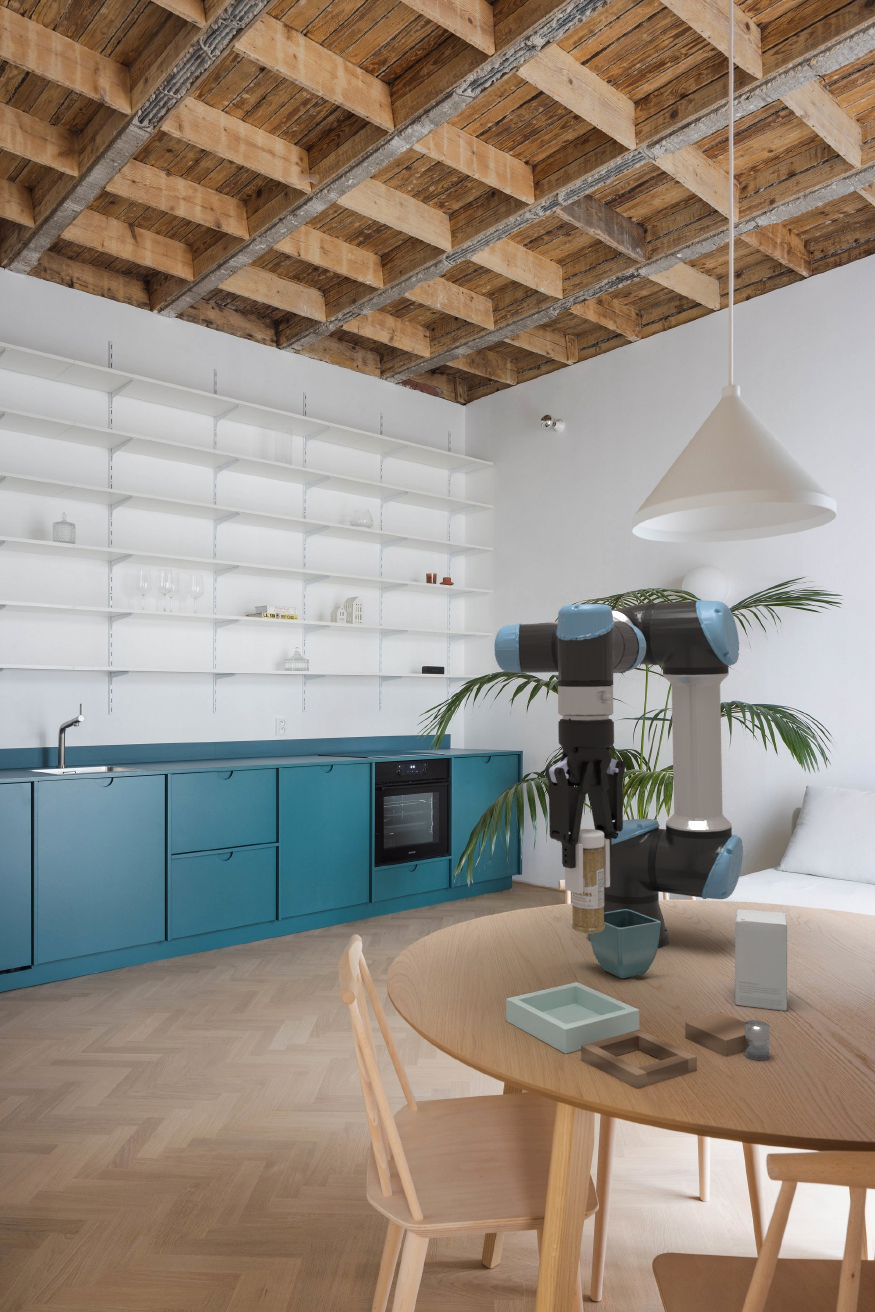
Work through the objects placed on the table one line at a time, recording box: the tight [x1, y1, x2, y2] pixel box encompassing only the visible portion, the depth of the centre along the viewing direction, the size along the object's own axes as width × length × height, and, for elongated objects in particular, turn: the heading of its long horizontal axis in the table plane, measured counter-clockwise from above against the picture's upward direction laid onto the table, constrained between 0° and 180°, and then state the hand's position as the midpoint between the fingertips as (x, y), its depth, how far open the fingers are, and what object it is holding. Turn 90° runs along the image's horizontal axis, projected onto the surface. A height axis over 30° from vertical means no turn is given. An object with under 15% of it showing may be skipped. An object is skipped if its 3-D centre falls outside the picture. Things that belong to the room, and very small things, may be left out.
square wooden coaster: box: [684, 1011, 746, 1058], centre depth 121 cm, size 7×7×2 cm
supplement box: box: [734, 909, 788, 1012], centre depth 136 cm, size 7×7×13 cm
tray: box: [505, 982, 640, 1055], centre depth 126 cm, size 13×13×3 cm
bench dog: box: [744, 1019, 771, 1062], centre depth 116 cm, size 3×3×4 cm
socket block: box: [580, 1029, 698, 1089], centre depth 113 cm, size 10×10×2 cm
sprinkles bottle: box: [571, 828, 605, 934], centre depth 124 cm, size 5×5×14 cm
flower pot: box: [589, 909, 661, 979], centre depth 148 cm, size 9×9×9 cm
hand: (587, 887), depth 124 cm, fingers closed on sprinkles bottle, 4 cm apart
